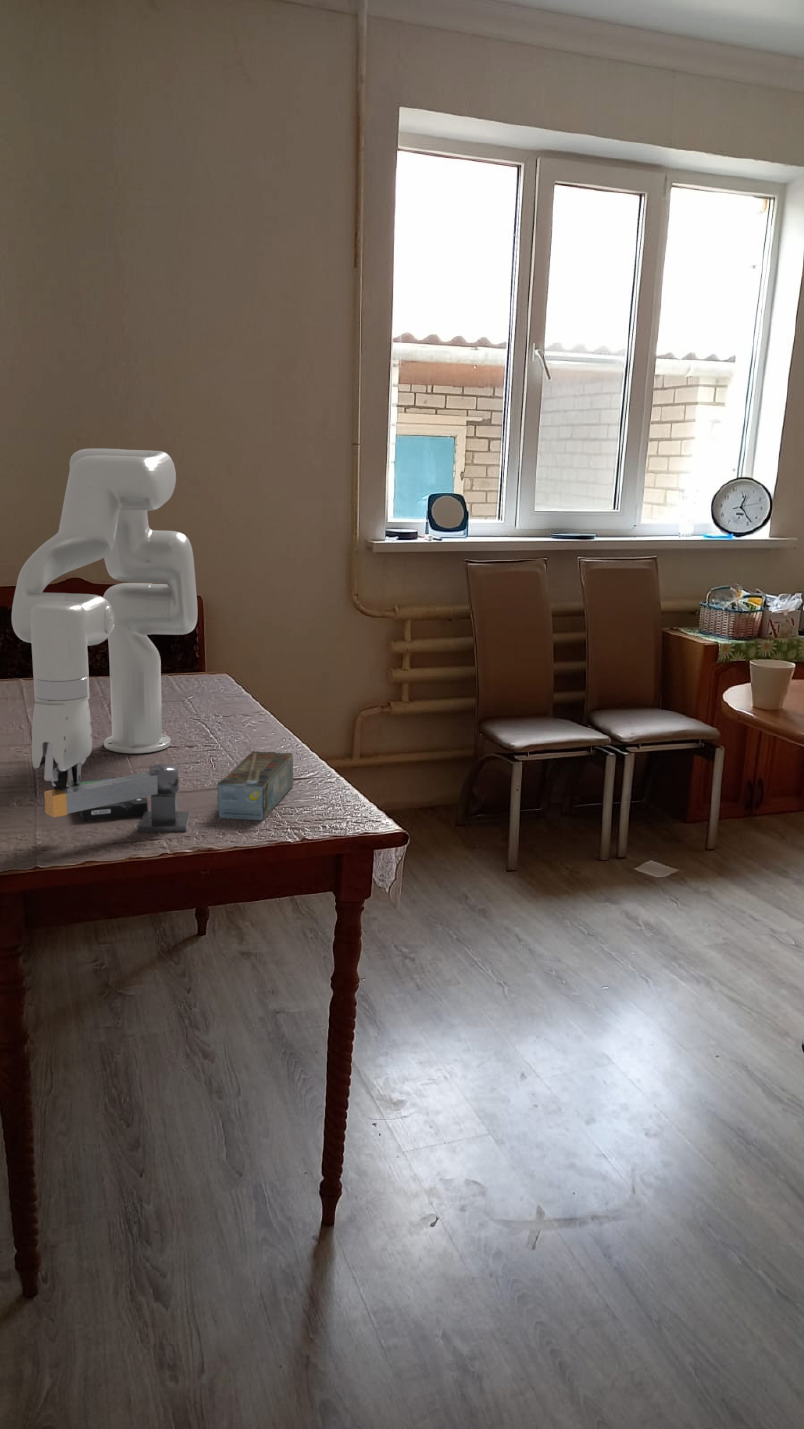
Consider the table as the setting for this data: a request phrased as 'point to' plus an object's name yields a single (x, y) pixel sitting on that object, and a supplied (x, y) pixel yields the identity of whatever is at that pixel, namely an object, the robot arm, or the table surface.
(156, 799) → the grey pedestal base
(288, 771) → the beverage carton
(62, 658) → the robot arm
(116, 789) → the swing bar
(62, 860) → the table surface
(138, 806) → the disk drive
